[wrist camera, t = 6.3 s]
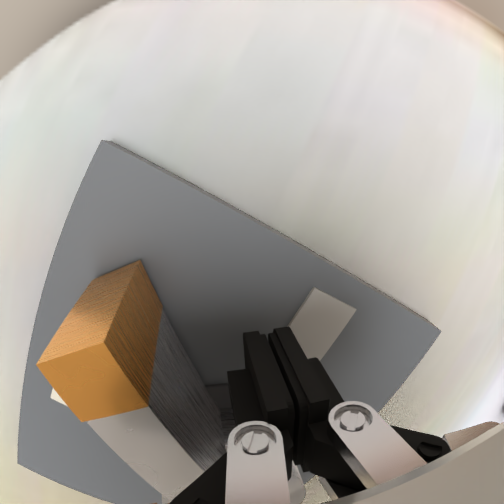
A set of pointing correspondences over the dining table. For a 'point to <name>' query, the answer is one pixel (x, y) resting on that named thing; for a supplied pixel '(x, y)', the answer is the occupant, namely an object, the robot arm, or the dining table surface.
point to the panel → (201, 309)
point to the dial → (139, 384)
